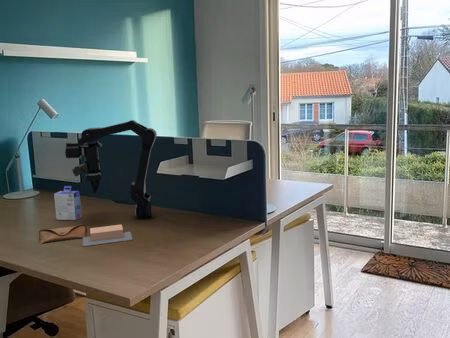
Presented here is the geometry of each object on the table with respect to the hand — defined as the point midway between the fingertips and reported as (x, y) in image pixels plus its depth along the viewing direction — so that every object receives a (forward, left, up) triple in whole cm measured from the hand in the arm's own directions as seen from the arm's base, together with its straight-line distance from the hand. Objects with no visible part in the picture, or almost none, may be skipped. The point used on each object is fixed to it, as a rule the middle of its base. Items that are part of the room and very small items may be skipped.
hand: (95, 192), depth 194 cm
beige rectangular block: (-3, +23, -10) cm, 26 cm away
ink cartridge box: (+12, -7, -12) cm, 18 cm away
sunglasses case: (+13, +21, -13) cm, 28 cm away
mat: (-3, +29, -12) cm, 32 cm away
